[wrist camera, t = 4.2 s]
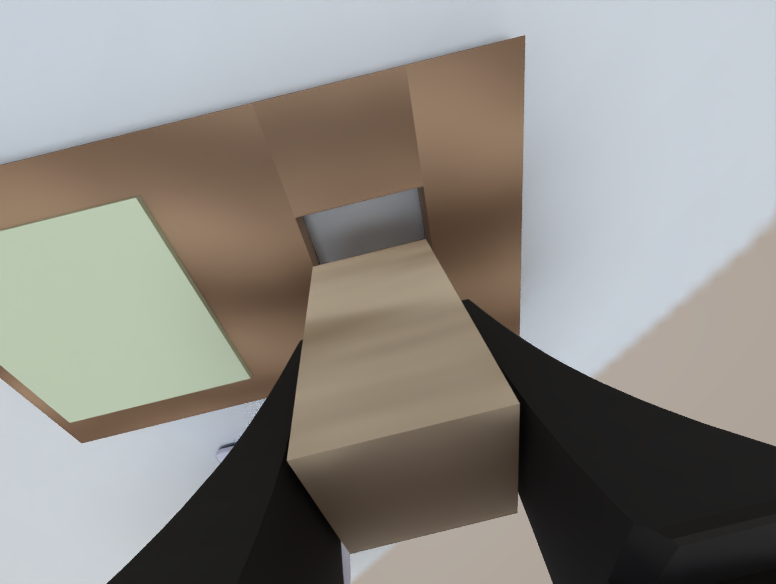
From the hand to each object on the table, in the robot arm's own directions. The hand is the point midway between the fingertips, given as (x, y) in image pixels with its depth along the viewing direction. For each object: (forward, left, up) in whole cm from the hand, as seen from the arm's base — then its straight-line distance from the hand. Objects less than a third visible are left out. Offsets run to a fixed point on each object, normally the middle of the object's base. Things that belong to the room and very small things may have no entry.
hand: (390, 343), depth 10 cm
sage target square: (0, +13, -6) cm, 14 cm away
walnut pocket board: (0, +6, -7) cm, 10 cm away
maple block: (0, 0, -3) cm, 2 cm away
